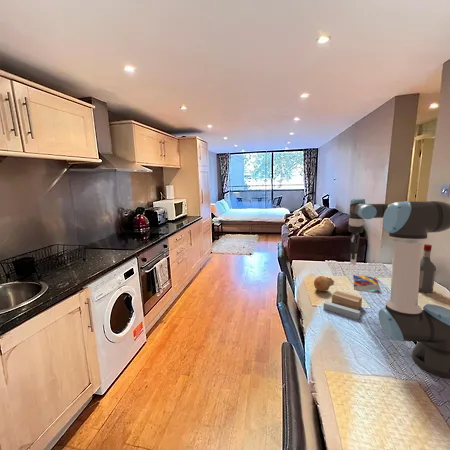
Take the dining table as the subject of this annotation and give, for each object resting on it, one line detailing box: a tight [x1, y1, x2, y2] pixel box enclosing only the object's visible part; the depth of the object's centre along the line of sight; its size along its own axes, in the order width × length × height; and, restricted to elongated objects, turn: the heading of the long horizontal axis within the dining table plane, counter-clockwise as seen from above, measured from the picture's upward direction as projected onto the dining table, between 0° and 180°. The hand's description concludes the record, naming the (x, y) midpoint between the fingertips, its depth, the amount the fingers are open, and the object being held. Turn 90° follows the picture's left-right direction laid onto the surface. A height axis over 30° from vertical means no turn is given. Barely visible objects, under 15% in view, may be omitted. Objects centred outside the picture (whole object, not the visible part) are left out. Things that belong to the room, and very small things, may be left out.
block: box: [331, 290, 363, 311], centre depth 143 cm, size 7×14×6 cm, turn 44°
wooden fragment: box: [326, 276, 335, 288], centre depth 173 cm, size 26×11×1 cm, turn 138°
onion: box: [313, 275, 331, 293], centre depth 162 cm, size 10×10×10 cm
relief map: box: [352, 274, 382, 295], centre depth 170 cm, size 25×15×2 cm, turn 154°
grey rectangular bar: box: [323, 300, 361, 320], centre depth 136 cm, size 3×18×4 cm, turn 50°
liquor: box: [418, 243, 437, 294], centre depth 156 cm, size 9×9×30 cm
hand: (353, 263), depth 147 cm, fingers closed
